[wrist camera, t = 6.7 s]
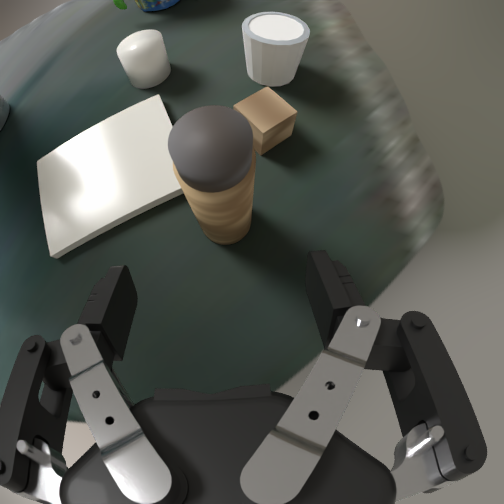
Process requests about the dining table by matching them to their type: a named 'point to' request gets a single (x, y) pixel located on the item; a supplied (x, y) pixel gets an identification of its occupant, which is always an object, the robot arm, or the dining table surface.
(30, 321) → the dining table surface
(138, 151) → the stone tile
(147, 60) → the white rounded cylinder
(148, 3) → the snack cup
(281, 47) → the white tapered cylinder
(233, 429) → the robot arm
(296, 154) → the dining table surface
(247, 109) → the wooden block
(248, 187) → the pepper mill
